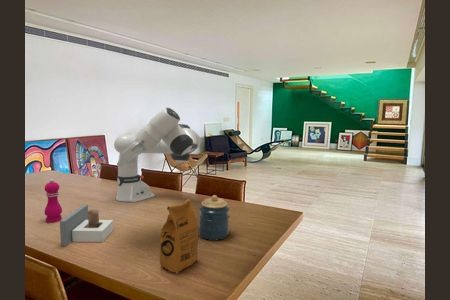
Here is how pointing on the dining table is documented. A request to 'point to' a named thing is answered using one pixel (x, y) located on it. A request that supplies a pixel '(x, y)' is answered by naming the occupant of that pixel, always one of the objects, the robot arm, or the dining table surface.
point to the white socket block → (92, 231)
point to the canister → (213, 218)
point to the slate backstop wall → (72, 223)
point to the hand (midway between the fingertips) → (122, 163)
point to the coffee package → (179, 238)
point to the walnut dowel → (93, 218)
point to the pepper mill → (52, 202)
